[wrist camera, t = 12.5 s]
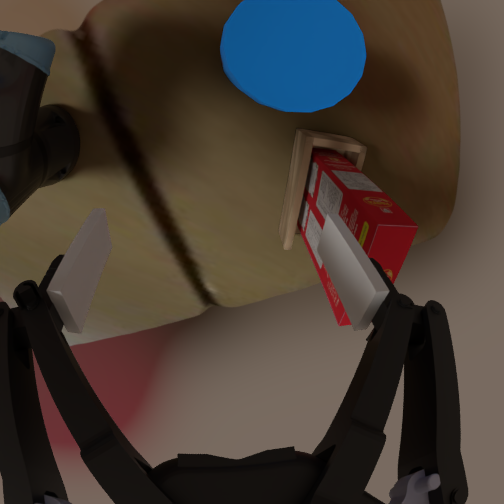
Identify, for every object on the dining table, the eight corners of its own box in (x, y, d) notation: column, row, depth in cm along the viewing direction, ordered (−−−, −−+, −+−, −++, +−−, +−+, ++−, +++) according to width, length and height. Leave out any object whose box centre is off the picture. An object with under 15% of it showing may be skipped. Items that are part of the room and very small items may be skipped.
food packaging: (321, 222, 53) (373, 321, 33) (295, 221, 53) (338, 326, 33) (335, 150, 44) (418, 226, 25) (307, 147, 44) (378, 224, 24)
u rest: (278, 231, 54) (284, 249, 49) (296, 128, 42) (306, 136, 37) (327, 233, 56) (337, 250, 51) (352, 137, 44) (367, 147, 39)
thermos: (305, 58, 35) (392, 54, 15) (262, 104, 39) (306, 143, 20) (251, 17, 30) (287, -40, 10) (206, 65, 35) (187, 56, 15)
